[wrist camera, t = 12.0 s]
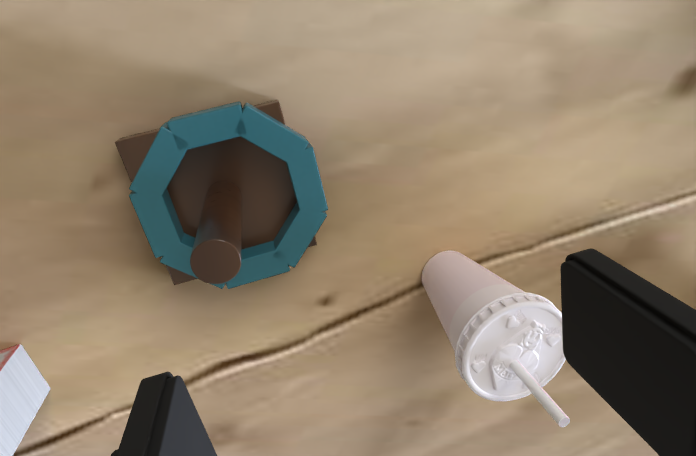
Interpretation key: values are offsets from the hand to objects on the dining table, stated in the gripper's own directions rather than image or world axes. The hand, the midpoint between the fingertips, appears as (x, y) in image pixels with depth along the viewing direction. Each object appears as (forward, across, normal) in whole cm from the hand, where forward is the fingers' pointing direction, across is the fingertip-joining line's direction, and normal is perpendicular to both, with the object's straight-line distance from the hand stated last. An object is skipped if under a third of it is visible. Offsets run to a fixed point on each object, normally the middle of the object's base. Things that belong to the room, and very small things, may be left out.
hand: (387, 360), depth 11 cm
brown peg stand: (+19, +5, 0) cm, 20 cm away
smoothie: (+20, -8, +10) cm, 23 cm away
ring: (+18, +4, 0) cm, 18 cm away
